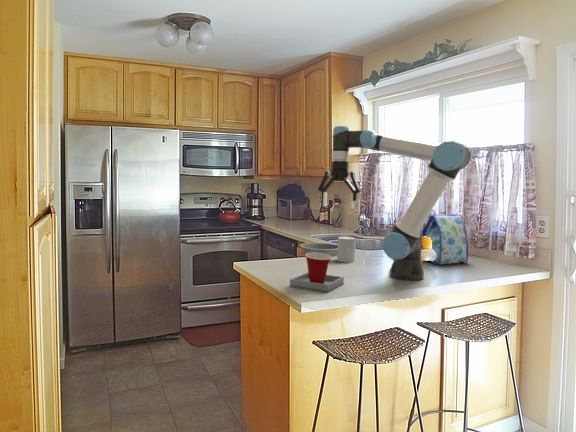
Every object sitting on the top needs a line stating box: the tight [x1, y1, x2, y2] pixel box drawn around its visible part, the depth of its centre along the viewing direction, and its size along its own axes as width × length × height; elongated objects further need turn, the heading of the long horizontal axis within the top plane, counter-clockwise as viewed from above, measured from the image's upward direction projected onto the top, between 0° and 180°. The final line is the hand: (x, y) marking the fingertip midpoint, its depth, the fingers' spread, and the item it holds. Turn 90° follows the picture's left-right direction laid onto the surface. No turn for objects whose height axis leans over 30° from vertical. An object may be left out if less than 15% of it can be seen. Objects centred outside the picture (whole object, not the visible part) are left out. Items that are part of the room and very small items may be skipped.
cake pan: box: [299, 242, 338, 257], centre depth 261 cm, size 25×25×4 cm
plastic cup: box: [304, 253, 332, 284], centre depth 184 cm, size 11×11×12 cm
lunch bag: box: [422, 213, 469, 265], centre depth 242 cm, size 22×17×26 cm
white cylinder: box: [336, 236, 357, 263], centre depth 239 cm, size 10×10×12 cm
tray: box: [289, 271, 345, 294], centre depth 184 cm, size 17×17×3 cm
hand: (338, 207), depth 206 cm, fingers open, 13 cm apart
